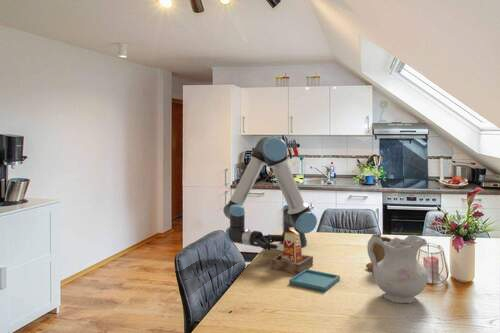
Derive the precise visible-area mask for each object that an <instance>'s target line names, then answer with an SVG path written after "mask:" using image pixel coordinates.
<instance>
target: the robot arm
mask: <svg viewBox="0 0 500 333" xmlns="http://www.w3.org/2000/svg"><path fill="white" fill-rule="evenodd" d="M288 160H289V156H288V146H287V144H286V142H285V141H284V140H283V139H281V138H279V137H277V136H265V137H262V138H260V139H259V140H258V142H257V143H256V144H255V146H254V149H253V150H252V152H251V155H250V160H249V163H248V164H247V167H245V170H244V172H243V174H242V175H241V178H240V180H239V182H238V184H237V185H236V188H235V190H234V191H233V193H232V195H231V197H230V199H229V201H228V202H227V204H225V206H224V207H223V214H224V216H225V218H228V219H229V227H227V228H226V229H225V233H224V235H225V236H224V237H225V239H226V241H227V242H229V243H233V244H240V245H246V246H249V247H251V246H252V247H256V248H258V247H259V248H261V249H263V250H265V251H266V250H267V251H271V250H277V251H284V245H283V242H284V238H285V232H287V231H288V230H289V227H291V228H292V227H294V230H296V231H297V232H298V233H299V236H300V242H301V248H303V247H304V248H305V247H307V245H308V240H307V238H306V234H310V233H312V232H313V231H314V230H315V229H316V226H317V225H318V218H317V216H316V215H315V213H314V212H312V211H311V208H310V206H309V204H308V203H307V202H306V201H304V198H303V197H302V195H301V194H302V193H301V192H300V189H299V187H298V185H297V182H296V180H295V178H294V175H293V172H292V170H291V168H290V166H289V163H288ZM266 165H267V167H268V168H270V169H272V171H273V175H274V176H275V179H276V181H277V183H278V187H279V188H280V190H281V193H282V195H283V197H284V198H283V199H285V200H284V201H285V202H286V204H285V205H283V210H282V219H283V220H282V222H283V223H282V224H283V226H282V227H283V228H282V230H283V231H282V233H281V234H270V233H269V234H266V235H265V234H263V232H262V231H259V230H252V229H250V228H246V229H245V226H246V225H245V222H246V221H245V218H246V217H245V214H246V212H245V206H244V203H245V202H246V200H247V198H248V196H249V194H250V192H251V190H252V188H253V186H254V185H255V183H256V181H257V180H258V176H259V175H260V173H261V171H262V170H263V167H264V166H266ZM278 242H279V243H278Z"/></svg>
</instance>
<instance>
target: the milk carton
mask: <svg viewBox="0 0 500 333" xmlns="http://www.w3.org/2000/svg"><path fill="white" fill-rule="evenodd" d="M283 245H284V251H282V252H281V254H282V257H281V260H282V261H287V262H292V263H300V262H302V261H303V258H302V255H303V250H302V247H301V242H300V236H299V233H298V232H297V231H296V230H294V227H292V228H291V227H289V230H288V231H287V232H285V238H284V242H283Z"/></svg>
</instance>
